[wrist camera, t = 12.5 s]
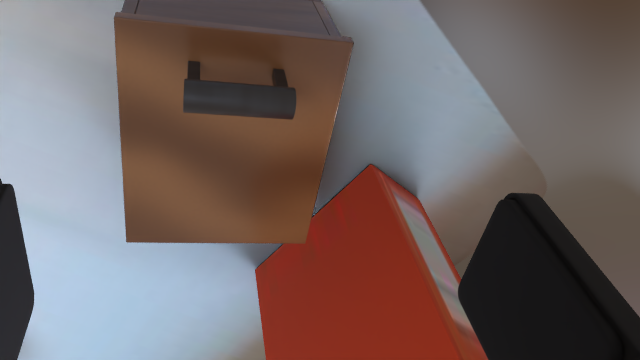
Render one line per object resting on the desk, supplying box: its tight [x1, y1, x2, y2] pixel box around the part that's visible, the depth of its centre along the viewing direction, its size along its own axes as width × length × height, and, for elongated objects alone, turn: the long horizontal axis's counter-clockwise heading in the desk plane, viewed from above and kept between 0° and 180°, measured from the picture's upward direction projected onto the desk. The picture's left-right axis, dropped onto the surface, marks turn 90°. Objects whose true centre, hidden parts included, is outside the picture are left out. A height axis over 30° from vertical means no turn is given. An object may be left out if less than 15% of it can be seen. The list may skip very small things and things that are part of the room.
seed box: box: [121, 0, 341, 36], centre depth 40 cm, size 17×14×9 cm
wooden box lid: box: [114, 12, 354, 244], centre depth 34 cm, size 17×14×5 cm
